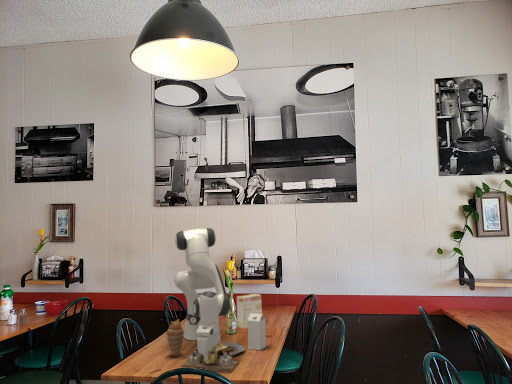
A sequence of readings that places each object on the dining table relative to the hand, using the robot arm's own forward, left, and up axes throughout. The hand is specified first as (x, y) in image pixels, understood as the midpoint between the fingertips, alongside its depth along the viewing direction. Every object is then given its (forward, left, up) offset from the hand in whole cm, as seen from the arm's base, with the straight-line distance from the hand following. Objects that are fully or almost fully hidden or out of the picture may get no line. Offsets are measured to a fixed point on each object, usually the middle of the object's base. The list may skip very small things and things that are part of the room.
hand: (210, 357), depth 197 cm
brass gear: (0, 0, -2) cm, 2 cm away
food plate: (-21, -3, -4) cm, 22 cm away
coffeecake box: (-77, -3, -4) cm, 77 cm away
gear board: (0, 0, -4) cm, 4 cm away
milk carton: (-32, +14, -4) cm, 35 cm away
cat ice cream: (-11, -23, -4) cm, 26 cm away
